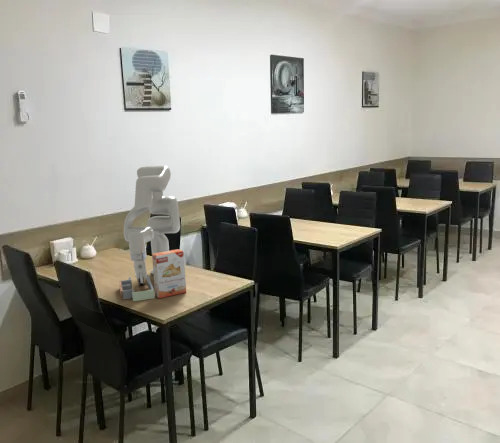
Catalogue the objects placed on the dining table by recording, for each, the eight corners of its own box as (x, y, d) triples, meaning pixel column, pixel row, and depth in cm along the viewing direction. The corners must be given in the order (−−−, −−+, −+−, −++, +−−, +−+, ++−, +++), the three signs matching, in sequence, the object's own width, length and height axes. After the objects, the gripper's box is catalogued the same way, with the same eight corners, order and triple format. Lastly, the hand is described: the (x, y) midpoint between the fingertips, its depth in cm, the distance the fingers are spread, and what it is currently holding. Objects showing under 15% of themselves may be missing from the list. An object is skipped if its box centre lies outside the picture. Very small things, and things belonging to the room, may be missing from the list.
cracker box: (159, 299, 226) (155, 255, 222) (155, 295, 231) (151, 253, 227) (187, 292, 233) (183, 250, 229) (182, 289, 238) (178, 248, 234)
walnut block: (148, 295, 233) (147, 285, 232) (149, 298, 228) (148, 288, 227) (137, 296, 231) (136, 286, 230) (138, 299, 227) (137, 289, 226)
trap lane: (148, 282, 253) (148, 274, 252) (154, 298, 228) (154, 289, 227) (119, 286, 249) (118, 278, 248) (122, 302, 224) (121, 294, 223)
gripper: (148, 258, 225) (151, 296, 228) (145, 251, 239) (148, 286, 242) (131, 260, 223) (135, 298, 226) (129, 253, 237) (133, 288, 240)
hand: (142, 292), depth 234 cm, fingers closed
